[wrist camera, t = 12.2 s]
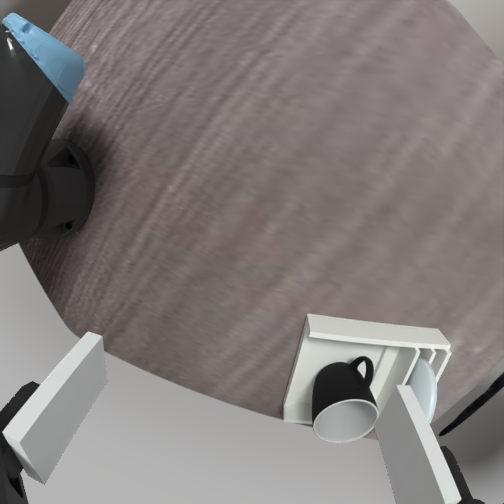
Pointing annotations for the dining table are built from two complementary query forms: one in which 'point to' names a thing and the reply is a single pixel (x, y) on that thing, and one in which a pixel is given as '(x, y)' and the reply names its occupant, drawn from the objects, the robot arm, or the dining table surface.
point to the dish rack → (353, 346)
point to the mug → (344, 402)
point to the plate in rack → (424, 386)
